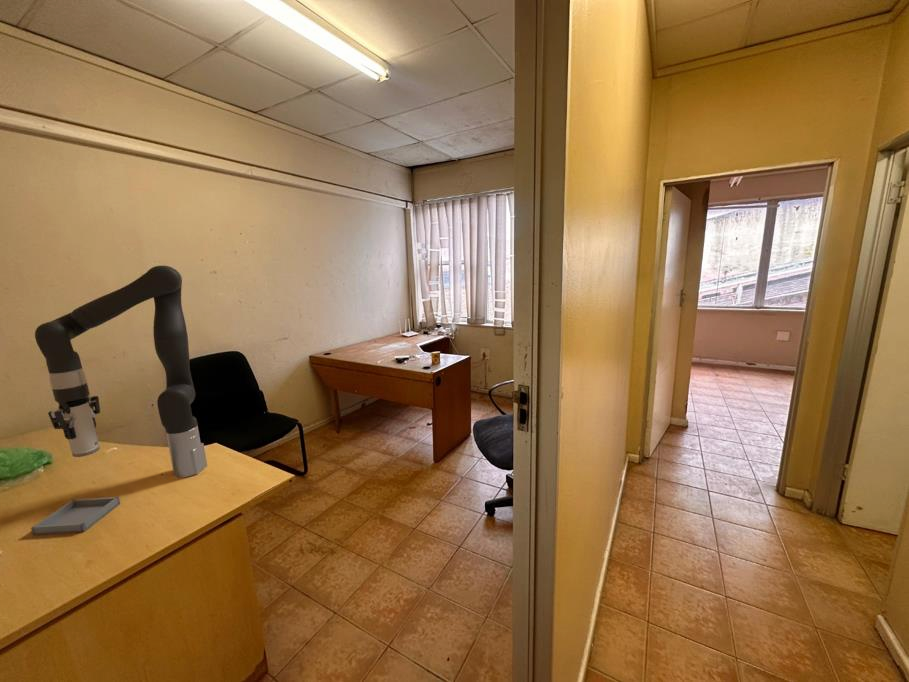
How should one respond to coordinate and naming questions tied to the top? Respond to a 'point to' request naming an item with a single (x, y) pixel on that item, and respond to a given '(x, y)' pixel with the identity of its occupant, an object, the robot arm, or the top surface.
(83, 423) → the travel mug
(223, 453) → the top surface
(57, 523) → the tray
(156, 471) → the top surface
